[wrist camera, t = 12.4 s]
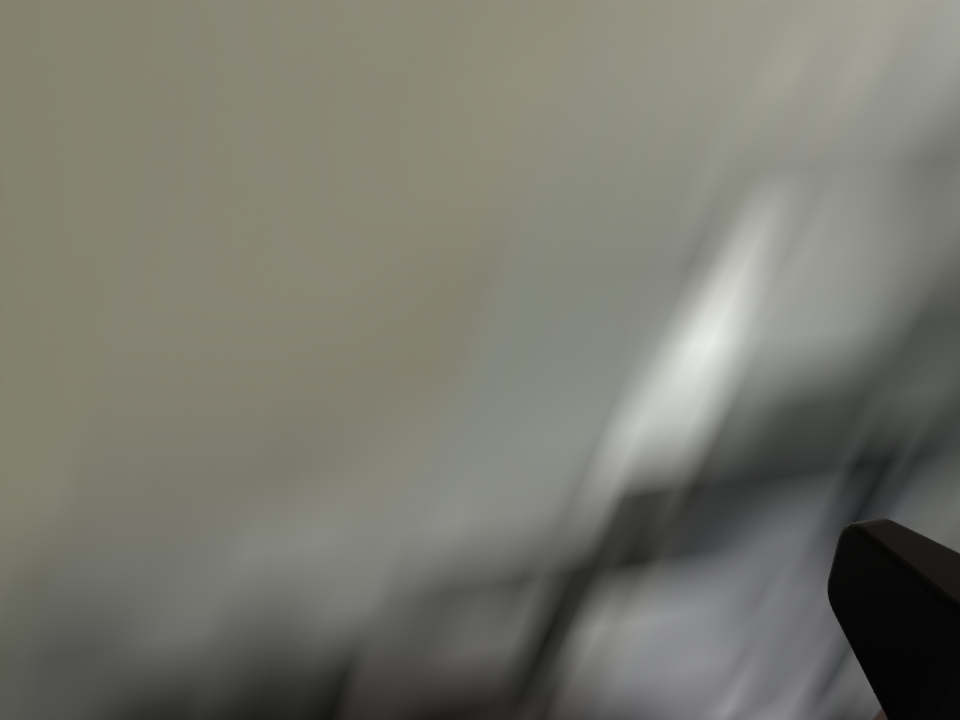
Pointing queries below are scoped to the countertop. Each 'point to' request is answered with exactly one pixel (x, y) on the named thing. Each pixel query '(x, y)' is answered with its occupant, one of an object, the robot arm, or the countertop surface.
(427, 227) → the countertop surface
